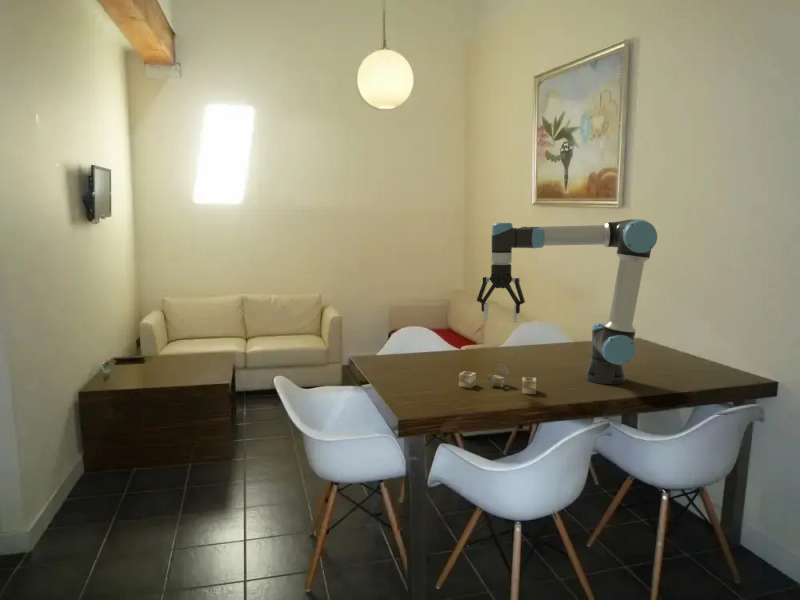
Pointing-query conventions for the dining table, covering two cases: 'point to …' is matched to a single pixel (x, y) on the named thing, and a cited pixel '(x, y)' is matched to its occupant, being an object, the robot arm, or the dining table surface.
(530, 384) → the marked cube 2
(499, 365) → the white irregular piece
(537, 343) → the dining table surface
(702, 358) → the dining table surface
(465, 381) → the marked cube 1
